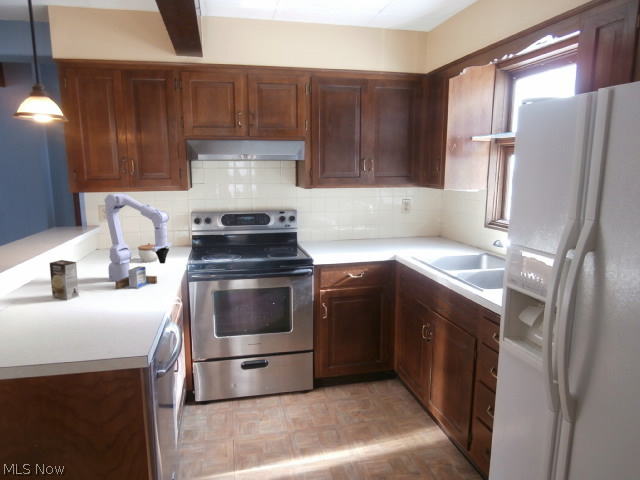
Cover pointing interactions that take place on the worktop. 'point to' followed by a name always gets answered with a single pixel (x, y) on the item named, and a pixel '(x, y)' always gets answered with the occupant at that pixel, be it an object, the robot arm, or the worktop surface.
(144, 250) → the lidded bowl
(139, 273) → the medicine box
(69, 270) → the coffee box
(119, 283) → the brown wooden block
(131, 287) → the pad
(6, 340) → the worktop surface
